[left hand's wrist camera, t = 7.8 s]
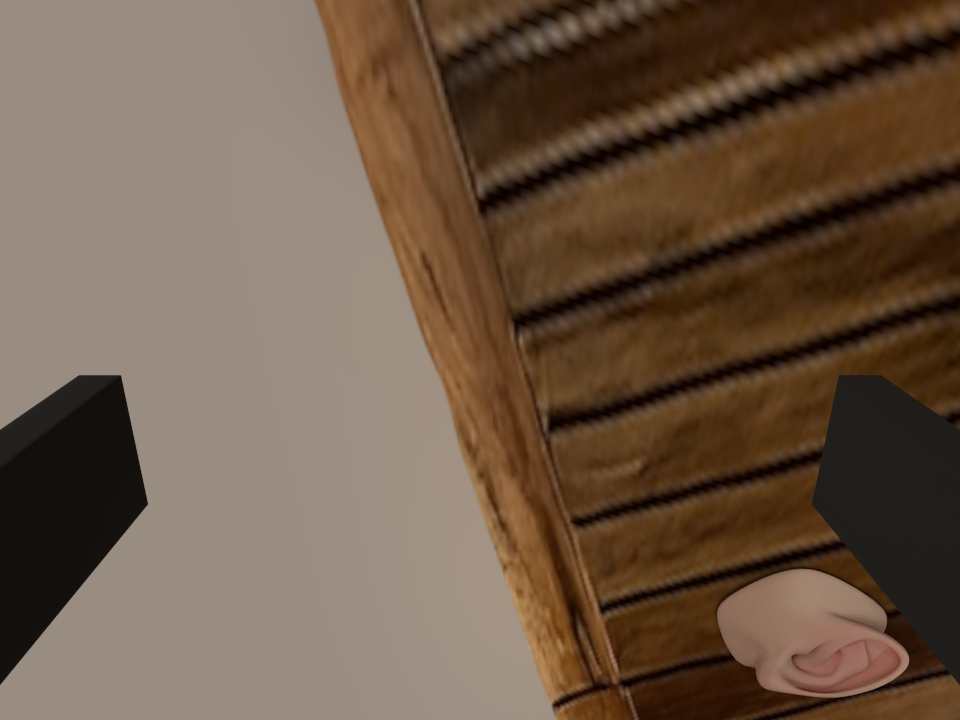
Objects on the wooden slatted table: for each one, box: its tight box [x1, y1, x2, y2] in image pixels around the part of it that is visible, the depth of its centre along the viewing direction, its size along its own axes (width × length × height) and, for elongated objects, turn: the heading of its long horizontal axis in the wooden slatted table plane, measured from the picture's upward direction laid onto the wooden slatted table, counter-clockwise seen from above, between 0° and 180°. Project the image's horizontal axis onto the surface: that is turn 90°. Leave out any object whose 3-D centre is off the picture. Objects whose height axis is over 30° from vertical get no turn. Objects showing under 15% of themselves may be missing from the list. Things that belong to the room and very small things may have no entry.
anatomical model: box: [717, 569, 909, 697], centre depth 54 cm, size 13×4×12 cm
